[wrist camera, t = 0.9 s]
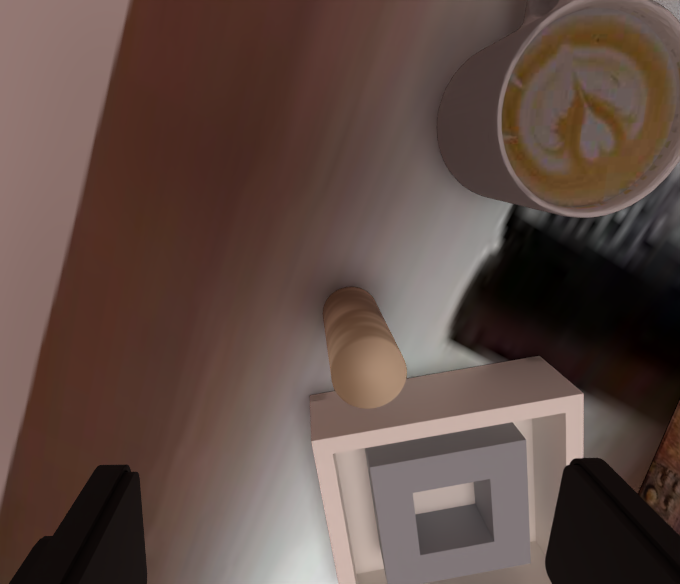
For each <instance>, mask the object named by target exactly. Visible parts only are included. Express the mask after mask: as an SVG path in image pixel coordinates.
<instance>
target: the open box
mask: <svg viewBox="0 0 680 584" xmlns="http://www.w3.org/2000/svg"><path fill="white" fill-rule="evenodd" d="M583 396H584V394H583V393H582V392H581V391H580V390H579V389H578V388H576V387H575V386H574V385H573V384H572V383H571V382H569V381H568V380H567V379H566V378H565V377H564V376H562V375H561V374H560V373H559V372H558V371H557V370H555V369H554V368H553V367H552V366H551V365H550V364H548V363H547V362H546V361H545V360H544V359H543V358H541V357H540V356H535V357H530V358H524V359H518V360H512V361H506V362H501V363H495V364H489V365H483V366H477V367H471V368H466V369H460V370H454V371H448V372H442V373H437V374H431V375H425V376H419V377H413V378H408V379H406V381H405V384H404V387H403V388H402V390H401V392H400V393H399V394H398V395H397V396H396V398H394V399H393V400H392V401H390V402H389V403H387V404H385V405H383V406H380V407H377V408H371V409H363V408H358V407H354V406H352V405H349V404H348V403H346V402H345V401H343V400H342V399H341V398H340V397H339V396H338V394H337V393H336V391H332V392H326V393H320V394H315V395H310V418H311V442H312V447H313V452H314V458H315V463H316V468H317V473H318V478H319V484H320V489H321V494H322V499H323V504H324V510H325V515H326V520H327V525H328V531H329V536H330V541H331V546H332V551H333V557H334V562H335V567H336V572H337V578H338V583H339V584H387V580H386V575H385V570H384V565H383V560H382V555H381V550H380V544H379V537H378V531H377V524H376V518H375V511H374V505H373V498H372V492H371V485H370V479H369V472H368V466H367V459H366V453H365V448H369V447H374V446H380V445H386V444H391V443H397V442H403V441H408V440H414V439H420V438H425V437H431V436H437V435H442V434H448V433H454V432H459V431H465V430H471V429H476V428H482V427H488V426H493V425H499V424H505V423H510V422H513V424H514V425H515V426H516V427H517V429H518V430H519V431H520V432H521V434H522V435H523V436H524V438H525V439H526V448H527V475H528V502H529V529H530V556H531V563H530V564H525V565H520V566H514V567H509V568H504V569H498V570H493V571H488V572H482V573H477V574H471V575H466V576H461V577H455V578H450V579H445V580H439V581H434V582H429V583H423V584H552V583H551V581H550V579H549V577H548V575H547V572H546V568H545V557H546V552H547V547H548V542H549V538H550V533H551V528H552V523H553V518H554V513H555V508H556V503H557V499H558V494H559V489H560V484H561V479H562V474H563V470H564V468H565V466H567V465H570V462H571V461H572V460H573V459H575V458H583ZM413 500H414V508H415V514H420V513H426V512H431V511H437V510H442V509H448V508H453V507H459V506H464V505H470V504H475V492H474V482H471V483H465V484H460V485H454V486H448V487H443V488H437V489H432V490H426V491H421V492H415V493H413Z"/></svg>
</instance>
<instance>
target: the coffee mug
mask: <svg viewBox="0 0 680 584" xmlns="http://www.w3.org/2000/svg"><path fill="white" fill-rule="evenodd" d="M437 138H438V143H439V148H440V151H441V155H442V158H443V160H444V162H445V164H446V166H447V168H448V169H449V171H450V172H451V173H452V175H453V176H454V177H455V178H456V179H457V180H458V181H459V182H460V183H461V184H462V185H463V186H464V187H466V188H467V189H469V190H470V191H472V192H474V193H476V194H479V195H481V196H484V197H488V198H492V199H496V200H500V201H504V202H508V203H512V204H516V205H520V206H525V207H529V208H533V209H537V210H541V211H545V212H549V213H553V214H557V215H561V216H568V217H576V218H588V217H597V216H603V215H607V214H611V213H614V212H617V211H619V210H622V209H624V208H626V207H628V206H630V205H632V204H634V203H635V202H637V201H639V200H640V199H642V198H644V197H645V196H646V195H648V194H649V193H650V192H652V191H653V190H654V189H655V188H656V187H657V186H658V185H659V184H660V183H661V182H662V181H663V180H664V179H665V178H666V177H667V176H668V175H669V173H670V172H671V171H672V170H673V168H674V167H675V166H676V164H677V163H678V162H679V160H680V22H679V21H678V20H677V19H676V18H675V17H674V15H673V14H672V13H671V12H670V11H669V10H667V9H666V8H665V7H663V6H662V5H660V4H659V3H657V2H655V1H652V0H527V5H526V11H525V16H524V21H523V24H522V25H521V27H520V28H519V30H517V31H515V32H514V33H512V34H510V35H508V36H506V37H505V38H503V39H501V40H499V41H497V42H496V43H494V44H492V45H490V46H488V47H487V48H485V49H483V50H481V51H480V52H478V53H476V54H475V55H474V56H472V57H471V58H470V59H468V60H467V61H466V62H465V63H464V64H463V65H462V66H461V67H460V68H459V70H458V71H457V72H456V73H455V75H454V76H453V77H452V79H451V81H450V82H449V84H448V86H447V88H446V90H445V92H444V95H443V97H442V100H441V104H440V107H439V111H438V118H437Z"/></svg>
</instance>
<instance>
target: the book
mask: <svg viewBox="0 0 680 584" xmlns="http://www.w3.org/2000/svg"><path fill="white" fill-rule="evenodd" d="M638 495H639V496H640V497H641V498H642V499H643V500H644V501H645V502H646V503H647V504H648V505H649V506H650V507H651V508H652V509H653V510H654V511H655V512H656V513H657V514H658V515H659V516H660V517H661V518H662V519H663V520H664V521H665V522H666V523H667V524H668V525H669V526H670V527H672V528H673V529H674V530H675V531H676V532H677V533H678V534H679V535H680V401H679V403H678V405H677V407H676V410H675V412H674V414H673V417H672V419H671V421H670V424H669V426H668V428H667V430H666V433H665V435H664V437H663V440H662V442H661V444H660V446H659V449H658V451H657V453H656V456H655V458H654V460H653V462H652V465H651V467H650V469H649V472H648V474H647V476H646V478H645V481H644V483H643V485H642V488H641V490H640V492H639V494H638Z"/></svg>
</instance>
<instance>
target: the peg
mask: <svg viewBox="0 0 680 584" xmlns="http://www.w3.org/2000/svg"><path fill="white" fill-rule="evenodd" d="M323 319H324V327H325V334H326V341H327V349H328V356H329V363H330V370H331V378H332V383H333V387H334V389H335V391H336V393H337V394H338V396H339V397H340V398H341V399H342V400H343V401H345V402H346V403H348V404H349V405H352V406H354V407H358V408H363V409H371V408H377V407H380V406H383V405H385V404H387V403H389V402H390V401H392V400H393V399H394V398H396V396H397V395H398V394H399V393H400V392H401V390H402V388H403V387H404V384H405V381H406V377H407V368H406V363H405V360H404V358H403V356H402V354H401V352H400V350H399V348H398V346H397V344H396V342H395V340H394V338H393V336H392V334H391V332H390V330H389V328H388V326H387V324H386V322H385V320H384V318H383V316H382V314H381V312H380V310H379V308H378V306H377V304H376V302H375V300H374V298H373V297H372V296H371V295H370V294H369V293H368V292H367V291H365V290H363V289H361V288H358V287H345V288H341V289H339V290H337V291H335V292H334V293H333V294H332V295H330V297H329V298H328V299H327V301H326V303H325V305H324V309H323Z"/></svg>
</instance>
